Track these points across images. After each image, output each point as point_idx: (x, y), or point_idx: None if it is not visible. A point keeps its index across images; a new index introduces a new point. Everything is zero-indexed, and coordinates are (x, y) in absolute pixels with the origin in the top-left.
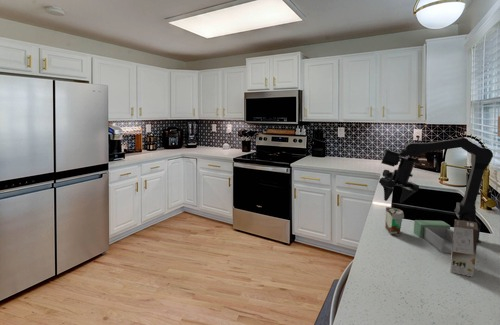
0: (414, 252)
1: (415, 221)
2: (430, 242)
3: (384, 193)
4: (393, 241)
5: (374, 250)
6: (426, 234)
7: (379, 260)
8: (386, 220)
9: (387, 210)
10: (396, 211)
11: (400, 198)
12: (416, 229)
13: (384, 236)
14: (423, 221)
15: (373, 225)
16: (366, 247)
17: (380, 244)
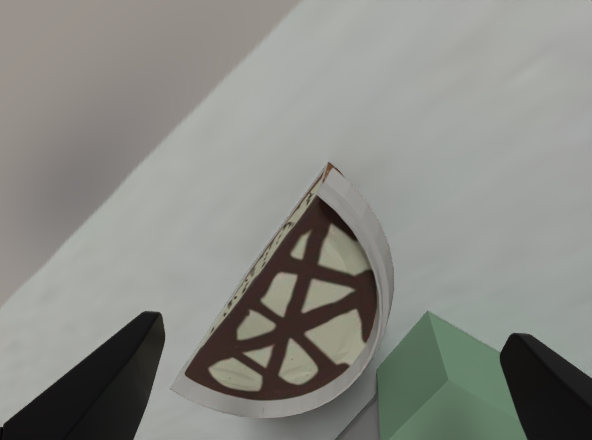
0: (192, 430)
1: (435, 387)
2: (343, 437)
3: (19, 422)
4: (195, 328)
5: (45, 345)
6: (369, 434)
7: (19, 399)
8: (313, 189)
9: (289, 232)
10: (342, 313)
11: (560, 387)
12: (409, 362)
13: (200, 265)
14: (479, 429)
15: (287, 74)
16: (28, 311)
17: (108, 320)
